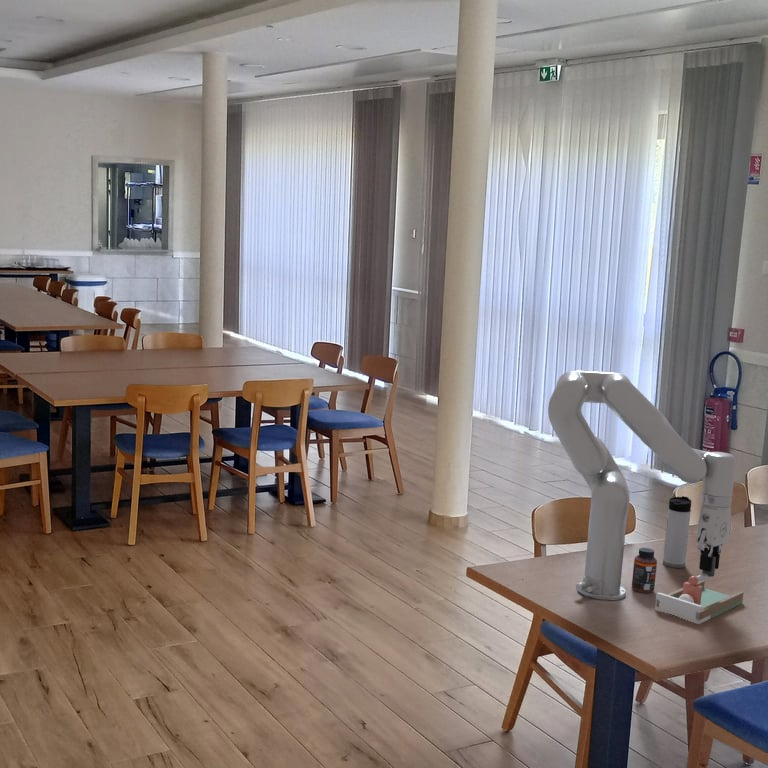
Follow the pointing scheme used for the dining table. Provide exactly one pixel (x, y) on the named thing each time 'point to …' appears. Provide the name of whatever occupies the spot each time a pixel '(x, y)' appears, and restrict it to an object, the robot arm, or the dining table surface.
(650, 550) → the supplement bottle
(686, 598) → the ball
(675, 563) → the travel mug
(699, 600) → the kicker rod
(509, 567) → the dining table surface
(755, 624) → the dining table surface
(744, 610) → the dining table surface
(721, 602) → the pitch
